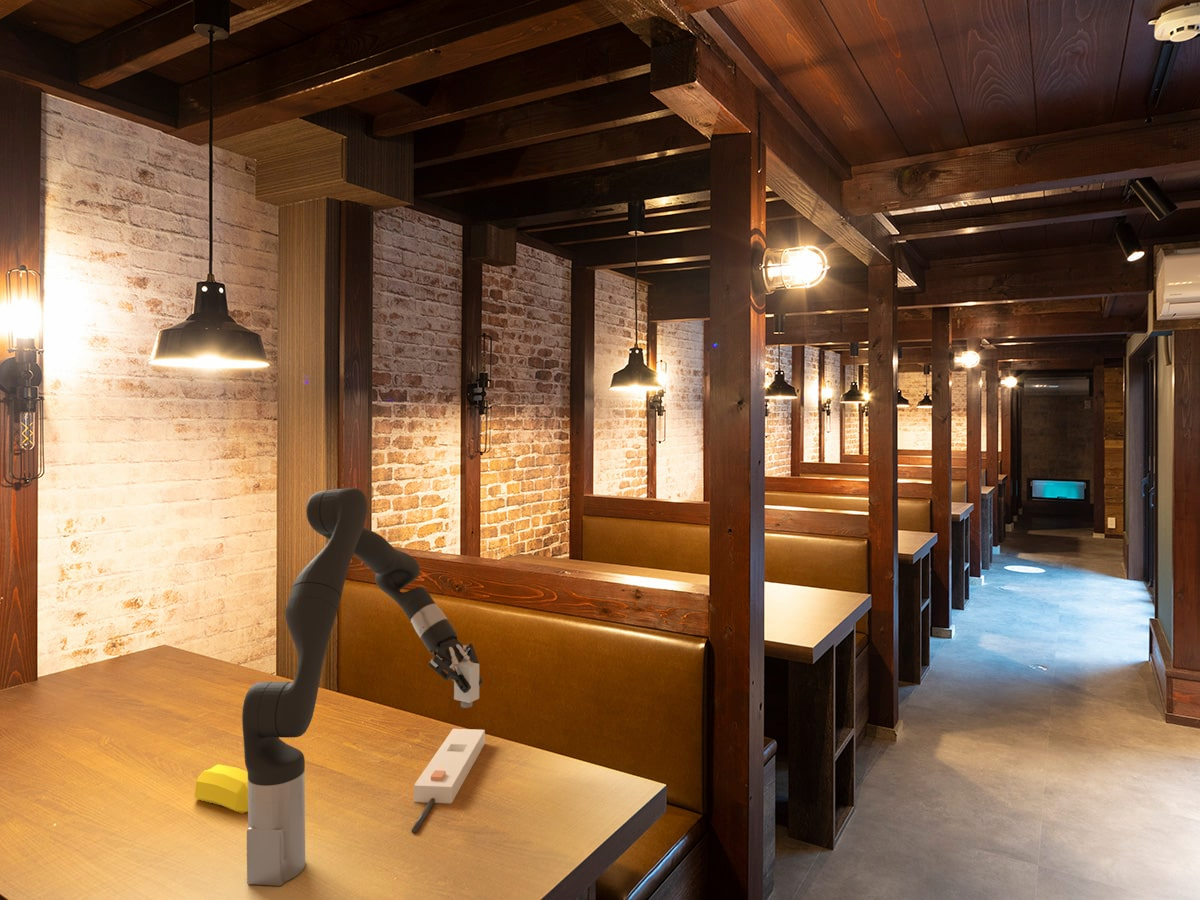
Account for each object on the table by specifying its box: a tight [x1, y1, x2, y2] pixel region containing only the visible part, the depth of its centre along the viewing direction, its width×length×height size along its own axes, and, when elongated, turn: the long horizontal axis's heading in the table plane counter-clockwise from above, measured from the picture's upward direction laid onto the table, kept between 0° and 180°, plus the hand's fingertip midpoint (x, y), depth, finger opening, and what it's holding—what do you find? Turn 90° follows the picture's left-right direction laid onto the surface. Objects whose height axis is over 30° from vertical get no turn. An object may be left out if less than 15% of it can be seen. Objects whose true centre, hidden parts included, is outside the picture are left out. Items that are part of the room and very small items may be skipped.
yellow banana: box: [194, 763, 248, 814], centre depth 159 cm, size 18×7×8 cm
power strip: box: [411, 728, 486, 834], centre depth 167 cm, size 42×8×4 cm, turn 175°
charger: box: [453, 660, 480, 709], centre depth 175 cm, size 4×4×10 cm
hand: (473, 687), depth 174 cm, fingers closed on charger, 3 cm apart
